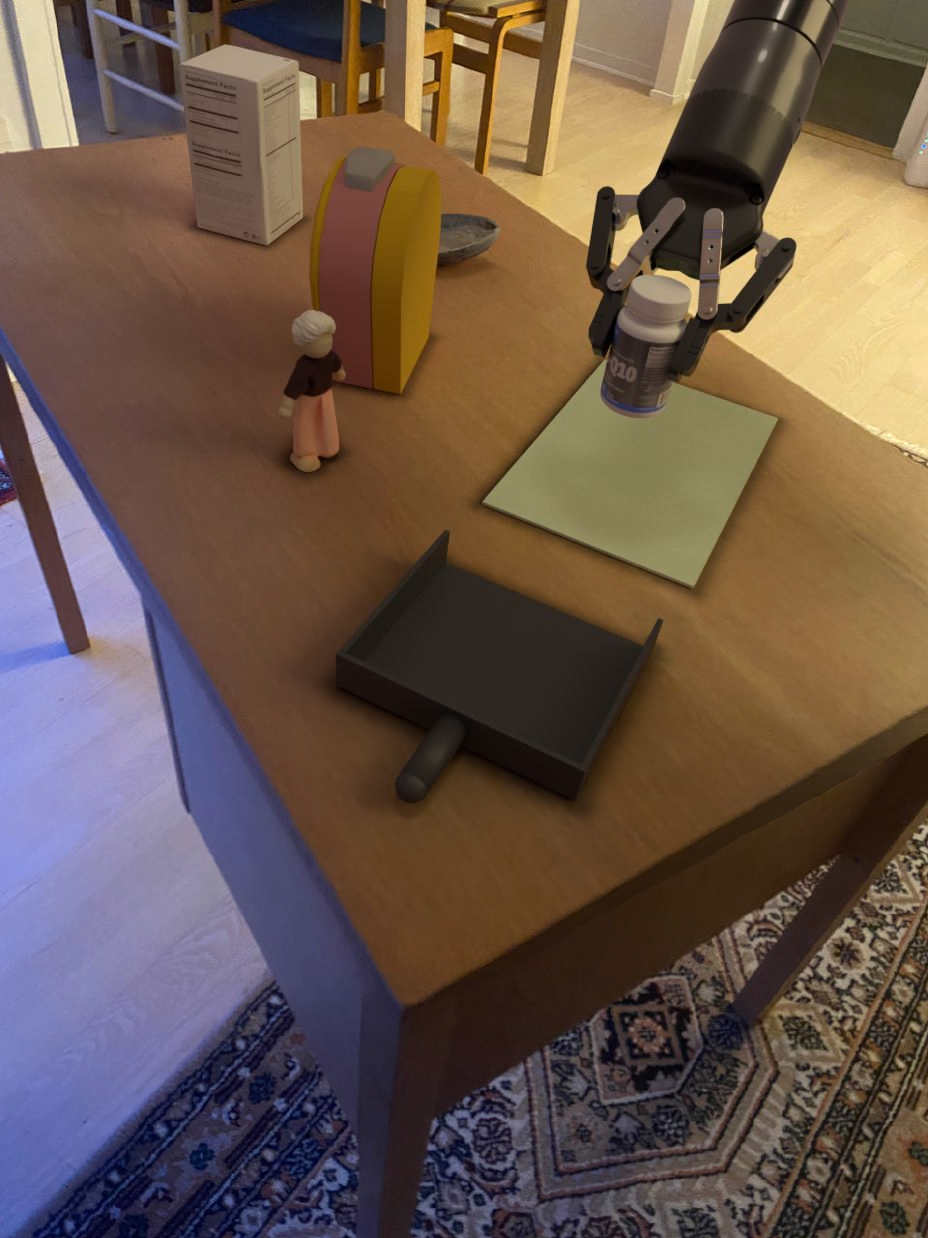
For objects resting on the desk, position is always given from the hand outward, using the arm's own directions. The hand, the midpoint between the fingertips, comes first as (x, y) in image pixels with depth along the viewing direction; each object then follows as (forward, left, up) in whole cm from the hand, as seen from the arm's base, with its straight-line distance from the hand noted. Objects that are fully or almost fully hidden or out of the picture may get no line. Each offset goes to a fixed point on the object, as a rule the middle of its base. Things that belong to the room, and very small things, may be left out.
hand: (635, 364), depth 59 cm
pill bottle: (-2, -1, -4) cm, 4 cm away
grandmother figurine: (+12, -21, -16) cm, 29 cm away
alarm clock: (-1, -32, -16) cm, 35 cm away
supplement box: (-5, -64, -16) cm, 66 cm away
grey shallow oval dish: (-18, -48, -16) cm, 53 cm away
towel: (-12, -6, -16) cm, 21 cm away
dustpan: (+17, +8, -16) cm, 24 cm away
